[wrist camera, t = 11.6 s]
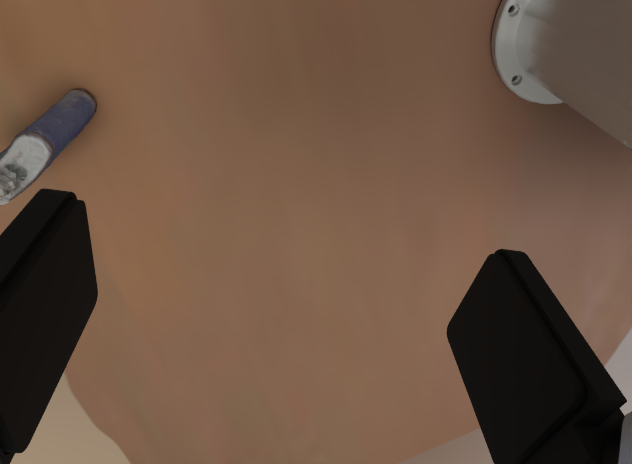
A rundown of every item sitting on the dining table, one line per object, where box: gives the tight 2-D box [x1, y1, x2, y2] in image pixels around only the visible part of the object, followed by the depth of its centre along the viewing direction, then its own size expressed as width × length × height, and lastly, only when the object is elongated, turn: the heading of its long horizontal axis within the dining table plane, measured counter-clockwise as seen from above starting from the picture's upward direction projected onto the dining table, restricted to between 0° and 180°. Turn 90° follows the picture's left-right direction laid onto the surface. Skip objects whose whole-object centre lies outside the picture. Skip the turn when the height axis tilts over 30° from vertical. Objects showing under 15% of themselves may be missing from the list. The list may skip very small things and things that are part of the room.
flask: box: [0, 89, 97, 205], centre depth 32 cm, size 9×3×11 cm, turn 124°
